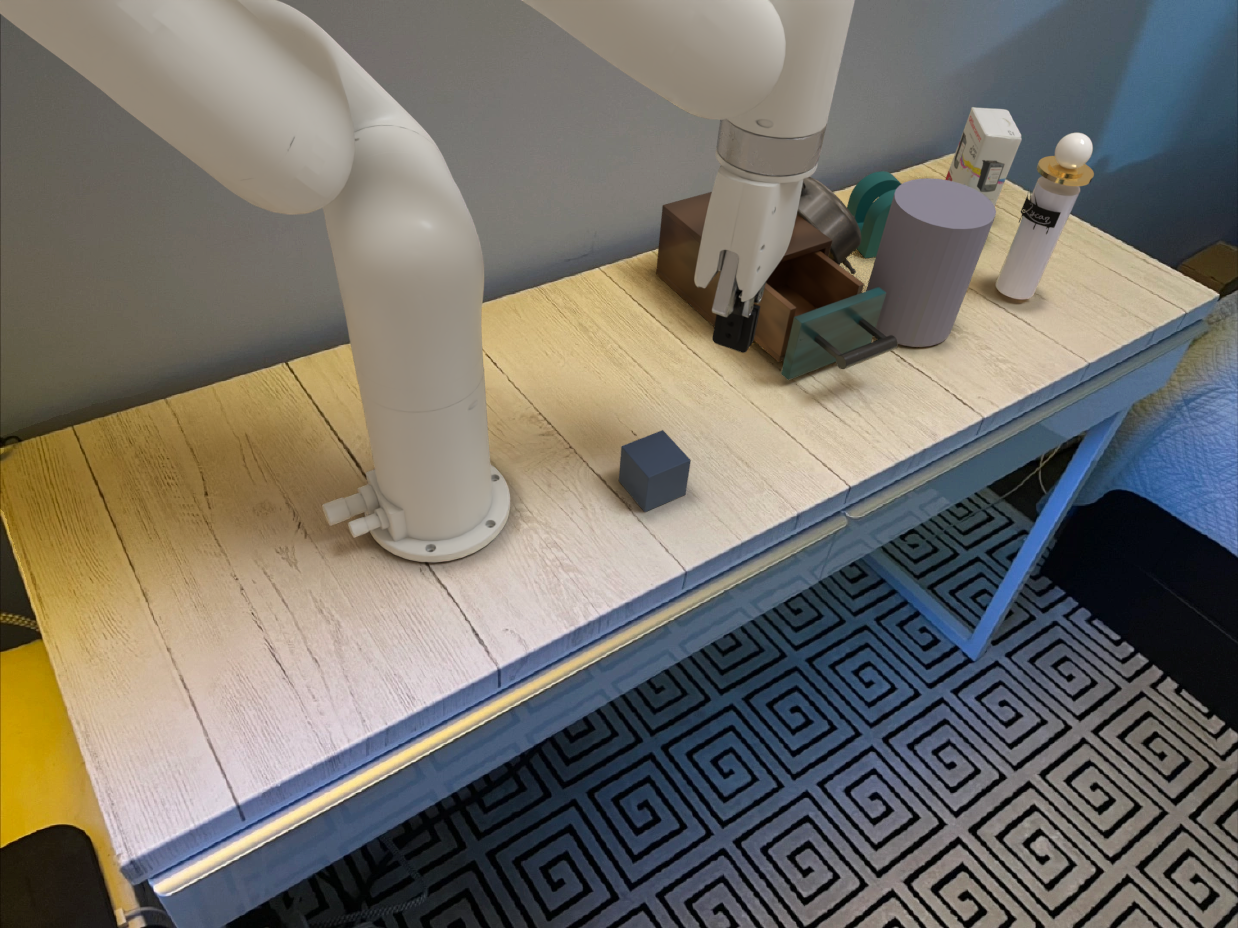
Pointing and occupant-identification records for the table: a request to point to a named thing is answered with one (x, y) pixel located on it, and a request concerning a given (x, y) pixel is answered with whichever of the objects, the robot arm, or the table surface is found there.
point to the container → (928, 258)
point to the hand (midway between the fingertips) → (732, 342)
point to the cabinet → (683, 245)
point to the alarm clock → (830, 219)
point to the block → (654, 470)
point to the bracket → (872, 208)
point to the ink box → (985, 151)
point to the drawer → (819, 316)
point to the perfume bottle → (1045, 215)
